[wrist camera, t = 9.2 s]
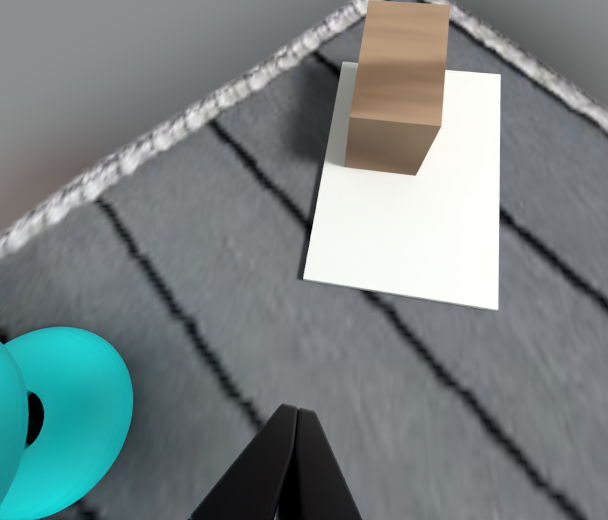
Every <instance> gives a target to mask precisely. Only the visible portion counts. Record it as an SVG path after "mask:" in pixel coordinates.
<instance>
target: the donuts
mask: <svg viewBox="0 0 608 520" xmlns="http://www.w3.org/2000/svg"><path fill="white" fill-rule="evenodd" d="M32 392H33V393H35V394H36V395H37V396H38V397H39V398H40V400H41V402H42V404H43V408H44V421H43V426H42V429H41V431H40V434H39V435H38V437H37V438H36V440H35V441H34V443H32V444H31V445H28V444H27V443H26V437H27V430H28V416H29V411H28V397H29V395H30V394H31V393H32ZM132 412H133V389H132V383H131V378H130V375H129V372H128V369H127V367H126V365H125V363H124V361H123V359H122V357H121V356H120V355H119V353H118V352H117V351H116V349H115V348H114V347H113V346H112V345H111V344H110V343H108V342H107V341H106V340H104V339H103V338H101V337H100V336H98V335H96V334H94V333H92V332H89V331H87V330H83V329H79V328H73V327H50V328H44V329H39V330H35V331H32V332H29V333H26V334H24V335H22V336H19V337H17V338H15V339H13V340H11V341H9V342H7V343H6V344H4V345H3V344H2V343H1V342H0V520H37V519H40V518H43V517H46V516H49V515H52V514H55V513H57V512H59V511H61V510H63V509H64V508H66V507H68V506H70V505H71V504H73V503H74V502H76V501H77V500H79V499H80V498H81V497H83V496H84V495H85V494H87V493H88V492H89V491H90V490H91V489H92V488H93V487H94V486H95V485H96V484H97V483H98V482H99V481H100V480H101V479H102V477H103V476H104V475H105V474H106V473H107V471H108V470H109V469H110V467H111V466H112V464H113V463H114V461H115V460H116V458H117V456H118V454H119V453H120V451H121V449H122V446H123V444H124V442H125V439H126V436H127V433H128V430H129V427H130V423H131V418H132Z"/></svg>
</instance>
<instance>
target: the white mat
mask: <svg viewBox="0 0 608 520" xmlns="http://www.w3.org/2000/svg"><path fill="white" fill-rule="evenodd" d="M357 69H358V63H352V62H343V63H342V68H341V74H340V79H339V85H338V90H337V96H336V101H335V107H334V112H333V118H332V123H331V129H330V134H329V140H328V145H327V150H326V156H325V161H324V167H323V172H322V178H321V183H320V189H319V194H318V200H317V205H316V211H315V216H314V222H313V227H312V233H311V238H310V244H309V249H308V255H307V260H306V266H305V271H304V277H303V280H304V281H310V282H317V283H323V284H329V285H335V286H342V287H348V288H354V289H360V290H366V291H373V292H379V293H385V294H391V295H398V296H404V297H410V298H416V299H423V300H429V301H435V302H441V303H447V304H454V305H460V306H466V307H472V308H479V309H485V310H491V311H496V310H498V266H499V168H500V75H499V74H486V73H474V72H462V71H450V70H445V82H444V97H443V111H442V125H441V128H440V130H439V132H438V134H437V136H436V138H435V140H434V142H433V144H432V146H431V147H430V149H429V151H428V153H427V155H426V157H425V159H424V161H423V163H422V165H421V167H420V169H419V171H418V173H417V175H416V176H413V175H405V174H396V173H388V172H379V171H371V170H363V169H354V168H346V167H344V165H345V155H346V146H347V137H348V127H349V118H350V111H351V105H352V99H353V93H354V87H355V81H356V75H357Z"/></svg>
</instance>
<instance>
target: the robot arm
mask: <svg viewBox="0 0 608 520" xmlns="http://www.w3.org/2000/svg"><path fill="white" fill-rule="evenodd" d="M276 511H277V513H276ZM275 514H276V520H362V518H361V516H360V513H359V511H358V509H357V507H356V504H355V502H354V500H353V497H352V495H351V493H350V491H349V488H348V486H347V484H346V481H345V479H344V477H343V474H342V472H341V470H340V468H339V465H338V463H337V461H336V458H335V456H334V454H333V452H332V449H331V447H330V445H329V442H328V440H327V438H326V435H325V433H324V431H323V429H322V426H321V424H320V422H319V419H318V417H317V415H316V413H315V412H314V411H311V410H307V409H303V408H300V409H299V410H298V409H297V407H295V406H291V405H287V404H281V405H280V406H279V407H278V409H277V410H276V411H275V412H274V414H273V415H272V416H271V417H270V418H269V420H268V421H267V422H266V423H265V425H264V426H263V427H262V428H261V430H260V431H259V432H258V433H257V434H256V436H255V437H254V438H253V439H252V441H251V442H250V443H249V444H248V445H247V447H246V448H245V449H244V450H243V452H242V453H241V454H240V455H239V457H238V458H237V459H236V460H235V461H234V463H233V464H232V465H231V466H230V468H229V469H228V470H227V471H226V472H225V474H224V475H223V476H222V477H221V479H220V480H219V481H218V482H217V484H216V485H215V486H214V487H213V488H212V490H211V491H210V492H209V493H208V495H207V496H206V497H205V498H204V499H203V501H202V502H201V503H200V504H199V506H198V507H197V508H196V509H195V511H194V512H193V513H192V514H191V516H190V518H188V519H187V520H274V518H275Z"/></svg>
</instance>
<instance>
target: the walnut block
mask: <svg viewBox="0 0 608 520" xmlns="http://www.w3.org/2000/svg"><path fill="white" fill-rule="evenodd" d="M449 11H450V5H438V4H422V3H405V2H388V1H372V0H369V2H368V8H367V14H366V20H365V26H364V33H363V39H362V45H361V51H360V57H359V63H358V69H357V75H356V81H355V87H354V93H353V99H352V105H351V111H350V118H349V127H348V137H347V146H346V155H345V165H344V167H346V168H354V169H363V170H371V171H379V172H388V173H396V174H405V175H413V176H416V175H417V173H418V171H419V169H420V167H421V165H422V163H423V161H424V159H425V157H426V155H427V153H428V151H429V149H430V147H431V146H432V144H433V142H434V140H435V138H436V136H437V134H438V132H439V130H440V128H441V125H442V111H443V97H444V82H445V68H446V54H447V39H448V25H449Z"/></svg>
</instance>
